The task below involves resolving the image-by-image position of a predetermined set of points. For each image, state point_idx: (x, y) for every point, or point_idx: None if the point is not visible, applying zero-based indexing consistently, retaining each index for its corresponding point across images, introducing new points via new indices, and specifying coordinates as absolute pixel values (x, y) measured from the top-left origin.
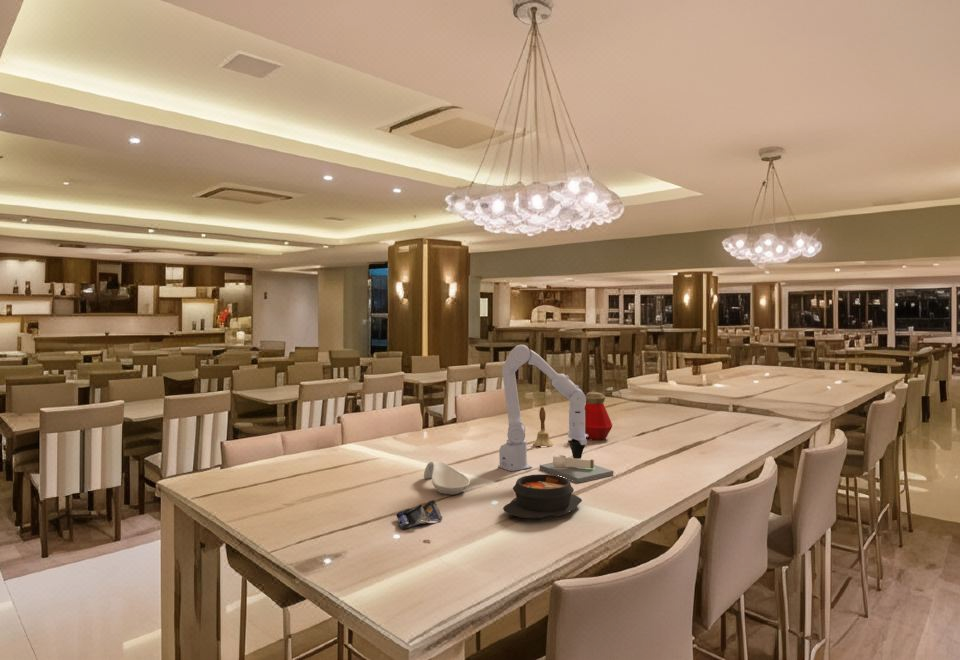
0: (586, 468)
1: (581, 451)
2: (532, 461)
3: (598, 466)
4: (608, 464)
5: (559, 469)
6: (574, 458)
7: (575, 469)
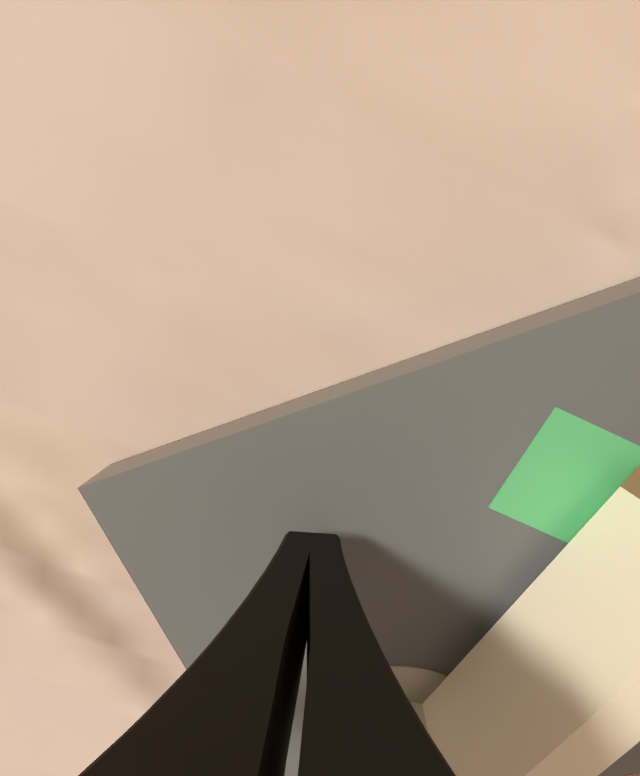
0: (569, 528)
1: (378, 681)
2: (42, 747)
3: (535, 338)
4: (248, 44)
5: None
6: (546, 772)
7: None
